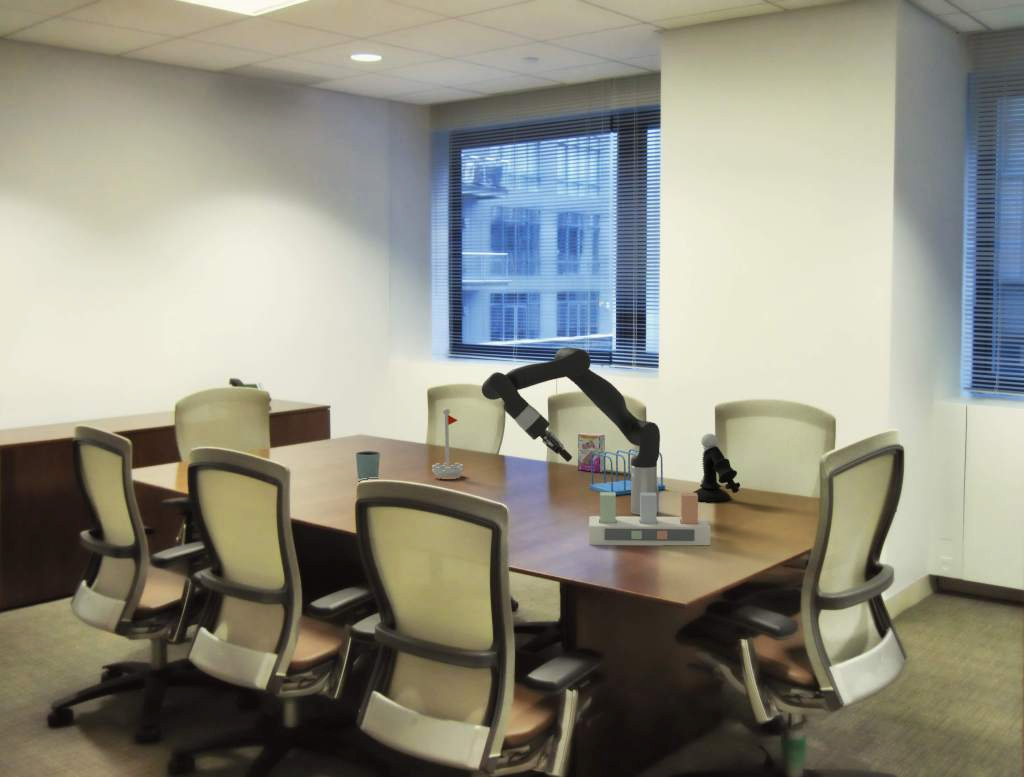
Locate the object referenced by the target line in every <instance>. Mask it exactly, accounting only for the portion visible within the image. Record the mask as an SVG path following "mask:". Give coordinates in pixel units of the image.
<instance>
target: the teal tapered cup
mask: <svg viewBox="0 0 1024 777" xmlns="http://www.w3.org/2000/svg"><path fill="white" fill-rule="evenodd" d="M355 458H356V459H355V460H356V471H357V479H358V478H359V479H362V478H367V479H362V480H368V479H378V480H379V474H380V472H379V471H380V459H381V453H380V452H379V451H374V450H371V451H370V450H363V451H358V452H356V453H355ZM369 477H378V478H369ZM362 480H360V481H362Z"/></svg>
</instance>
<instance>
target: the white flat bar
mask: <svg viewBox="0 0 1024 777" xmlns="http://www.w3.org/2000/svg"><path fill="white" fill-rule="evenodd" d="M588 519H589V520H588V521H589V522H588V545H589V546H590V545H591V546H594V545H595V546H662V545H710V546H711V526H710V523H709V521H708V518H707V516H698V524H681V516H657V524H640V516H622V515H620V516H616V523H600V515H594V516H591V515H589V518H588Z"/></svg>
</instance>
